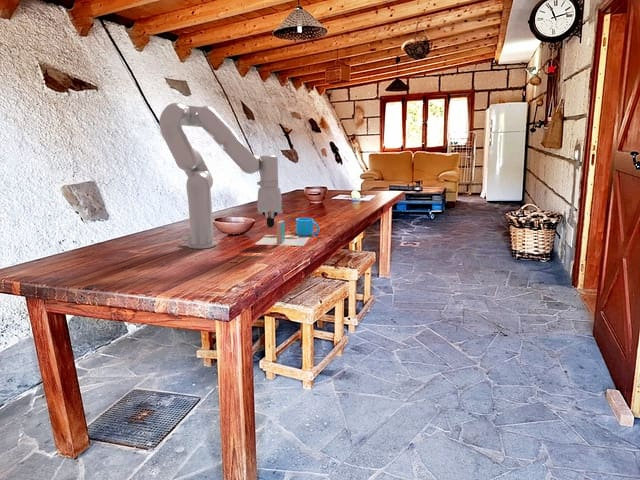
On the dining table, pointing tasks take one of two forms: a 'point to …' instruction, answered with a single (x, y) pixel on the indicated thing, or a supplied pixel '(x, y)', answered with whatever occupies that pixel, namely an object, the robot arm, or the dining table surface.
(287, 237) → the turner
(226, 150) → the robot arm
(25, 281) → the dining table surface
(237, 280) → the dining table surface
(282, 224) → the tile
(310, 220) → the mug
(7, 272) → the dining table surface
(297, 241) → the board
